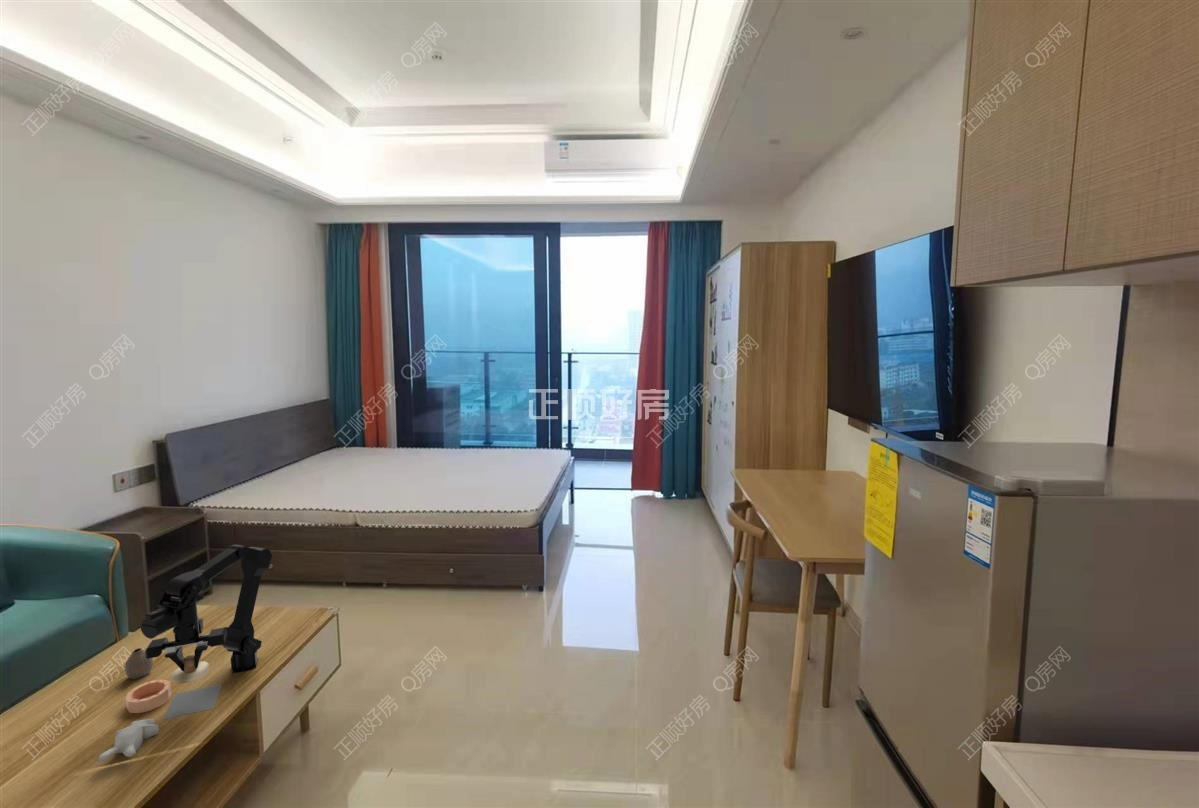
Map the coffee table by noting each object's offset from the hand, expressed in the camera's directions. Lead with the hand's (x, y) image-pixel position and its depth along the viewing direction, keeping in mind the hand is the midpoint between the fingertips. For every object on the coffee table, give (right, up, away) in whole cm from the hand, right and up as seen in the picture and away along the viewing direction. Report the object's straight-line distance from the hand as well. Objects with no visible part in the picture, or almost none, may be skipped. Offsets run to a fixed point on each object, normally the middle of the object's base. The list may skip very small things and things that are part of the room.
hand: (190, 669), depth 162 cm
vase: (-26, -9, +14) cm, 31 cm away
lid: (0, -1, 0) cm, 1 cm away
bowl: (-13, -11, +1) cm, 17 cm away
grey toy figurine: (-4, -14, -16) cm, 21 cm away
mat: (0, -11, +2) cm, 11 cm away
